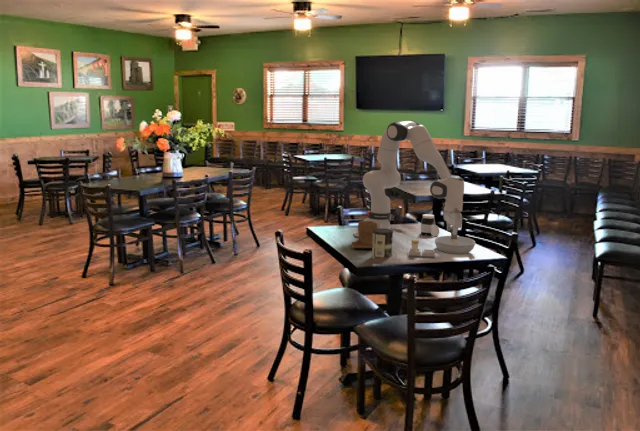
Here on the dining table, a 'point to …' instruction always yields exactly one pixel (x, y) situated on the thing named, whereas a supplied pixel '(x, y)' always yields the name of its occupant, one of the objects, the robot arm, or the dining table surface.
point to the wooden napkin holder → (365, 235)
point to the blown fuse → (453, 237)
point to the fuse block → (425, 253)
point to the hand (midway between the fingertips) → (451, 232)
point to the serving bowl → (454, 244)
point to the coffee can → (382, 243)
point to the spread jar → (429, 225)
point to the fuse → (415, 245)
